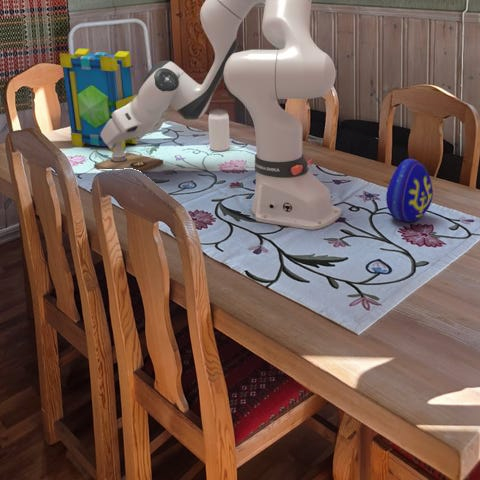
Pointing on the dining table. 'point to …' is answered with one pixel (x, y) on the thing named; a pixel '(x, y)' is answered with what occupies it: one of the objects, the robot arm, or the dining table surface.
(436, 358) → the dining table surface
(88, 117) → the decorative book
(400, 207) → the ornament
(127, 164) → the gauge board
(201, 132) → the dining table surface
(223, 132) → the can
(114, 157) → the white chess piece
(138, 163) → the brass bolt head
